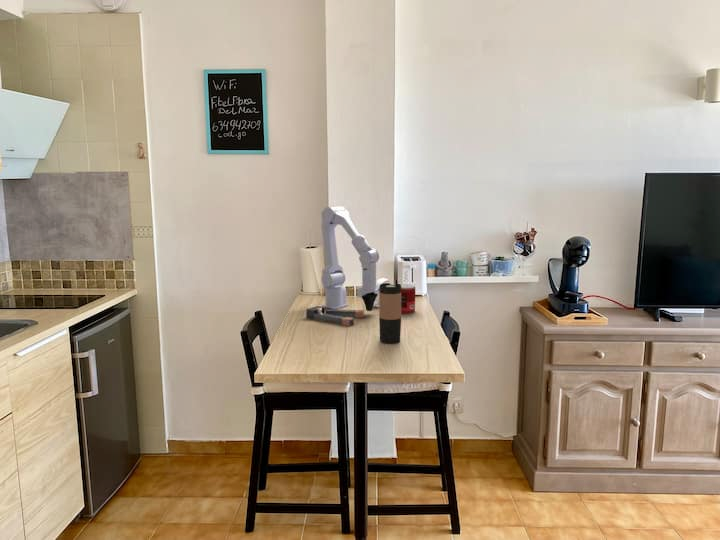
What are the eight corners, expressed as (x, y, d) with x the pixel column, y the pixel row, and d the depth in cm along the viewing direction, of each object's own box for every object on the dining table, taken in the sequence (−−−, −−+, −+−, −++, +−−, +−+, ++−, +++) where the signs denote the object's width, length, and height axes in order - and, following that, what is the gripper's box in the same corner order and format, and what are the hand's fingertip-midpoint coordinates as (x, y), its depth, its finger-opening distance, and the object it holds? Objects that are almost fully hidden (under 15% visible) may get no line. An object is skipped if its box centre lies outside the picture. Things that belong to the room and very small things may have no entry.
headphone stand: (388, 306, 247) (389, 279, 245) (377, 308, 244) (377, 281, 242) (383, 304, 251) (383, 278, 249) (371, 305, 248) (371, 279, 246)
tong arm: (325, 317, 228) (325, 310, 228) (326, 315, 231) (326, 308, 231) (363, 317, 226) (363, 311, 226) (364, 315, 229) (364, 309, 229)
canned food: (415, 309, 242) (415, 284, 240) (415, 313, 234) (415, 287, 232) (397, 308, 243) (397, 283, 241) (396, 313, 235) (397, 287, 233)
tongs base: (306, 317, 227) (305, 308, 227) (317, 314, 233) (317, 305, 232) (349, 326, 215) (348, 316, 214) (359, 322, 220) (359, 313, 220)
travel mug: (386, 345, 191) (386, 288, 188) (375, 339, 198) (375, 284, 194) (405, 342, 194) (405, 285, 191) (393, 336, 201) (394, 282, 198)
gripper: (366, 282, 223) (366, 315, 225) (386, 277, 235) (386, 308, 237) (352, 280, 227) (352, 313, 229) (373, 275, 239) (373, 306, 241)
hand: (369, 310), depth 233 cm, fingers closed
